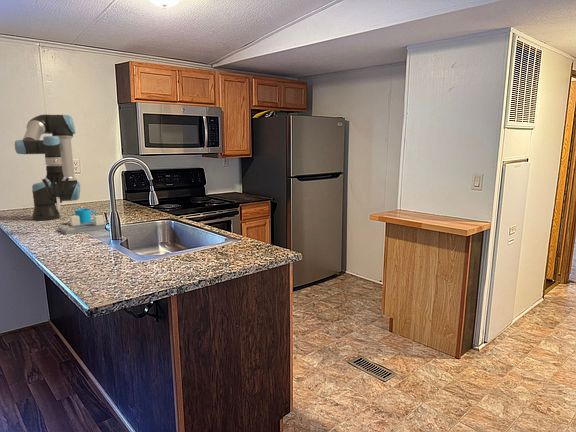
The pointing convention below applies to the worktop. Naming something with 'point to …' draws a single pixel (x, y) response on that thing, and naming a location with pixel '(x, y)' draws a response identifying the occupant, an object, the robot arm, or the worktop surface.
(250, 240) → the worktop surface
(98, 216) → the tab
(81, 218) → the mug
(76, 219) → the tab
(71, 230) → the switch bank
